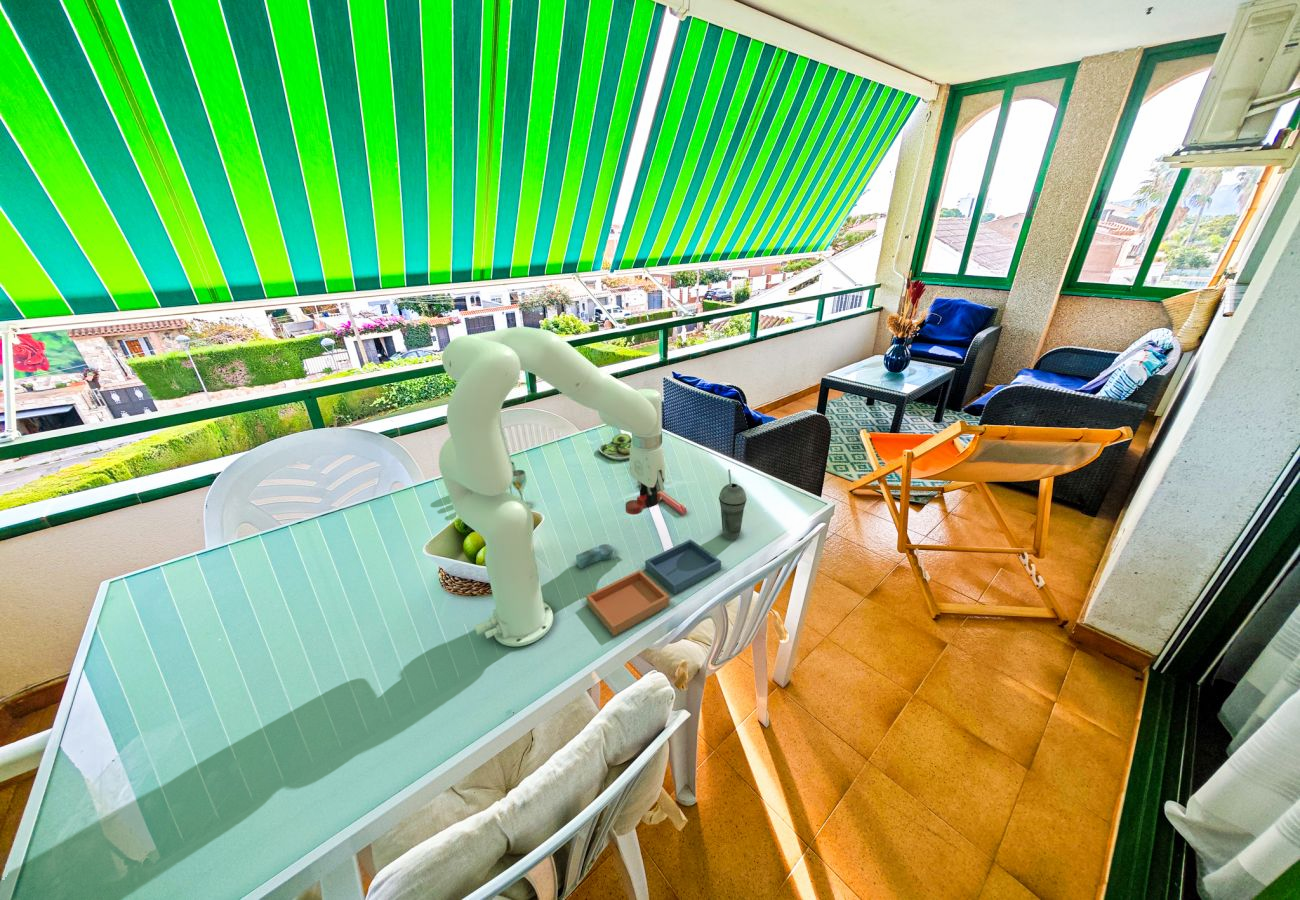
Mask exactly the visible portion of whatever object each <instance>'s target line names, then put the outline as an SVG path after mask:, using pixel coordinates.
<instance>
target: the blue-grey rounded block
mask: <svg viewBox="0 0 1300 900" xmlns="http://www.w3.org/2000/svg"><path fill="white" fill-rule="evenodd" d="M614 555H615V552H614V547H613V545H611V544H610V543H609V544H608V543H604V544H600V545H599V546H595V547H592V548H590V549H588V550H585V551H583V552H580V553H579V554H576V555H575V558H576V565H577V566H578V567H579V568H580V569H584V568H585V567H588V566H590V565H592V564H594V563H596V562H598V561H608V560H610V559H612V558H613V557H614Z"/></svg>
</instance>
